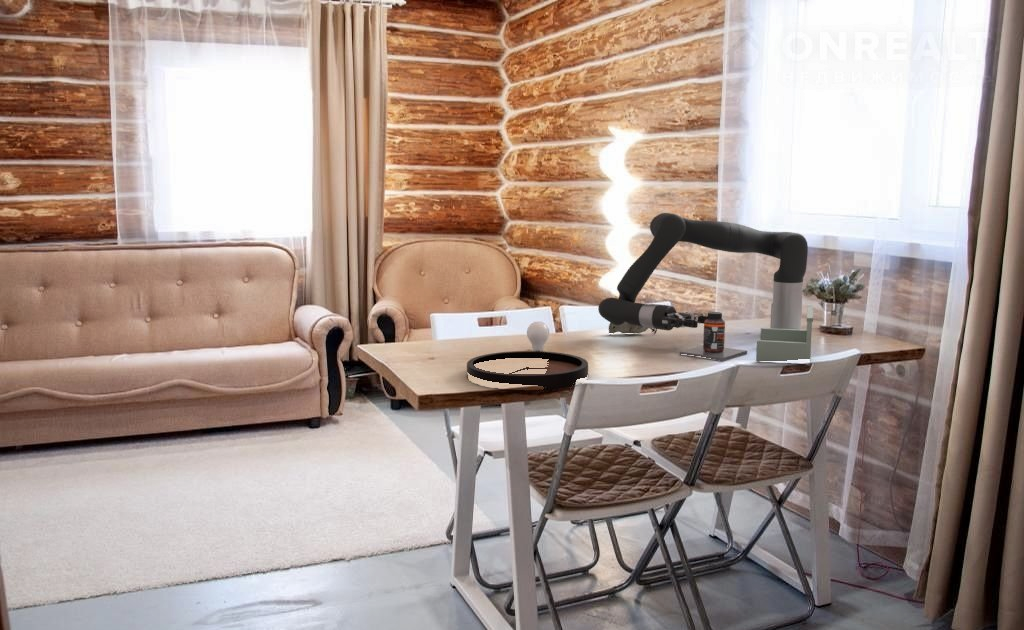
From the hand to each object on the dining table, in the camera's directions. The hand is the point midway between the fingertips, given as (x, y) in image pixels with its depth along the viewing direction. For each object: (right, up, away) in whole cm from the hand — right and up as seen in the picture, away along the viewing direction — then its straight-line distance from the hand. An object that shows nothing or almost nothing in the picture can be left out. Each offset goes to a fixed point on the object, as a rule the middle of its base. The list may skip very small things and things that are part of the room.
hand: (704, 322), depth 250 cm
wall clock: (-52, -14, -27) cm, 61 cm away
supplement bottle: (+2, -9, -1) cm, 9 cm away
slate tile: (+2, -9, -1) cm, 10 cm away
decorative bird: (-16, -5, +32) cm, 37 cm away
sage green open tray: (+22, -10, -3) cm, 24 cm away
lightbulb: (-49, -11, -7) cm, 50 cm away
